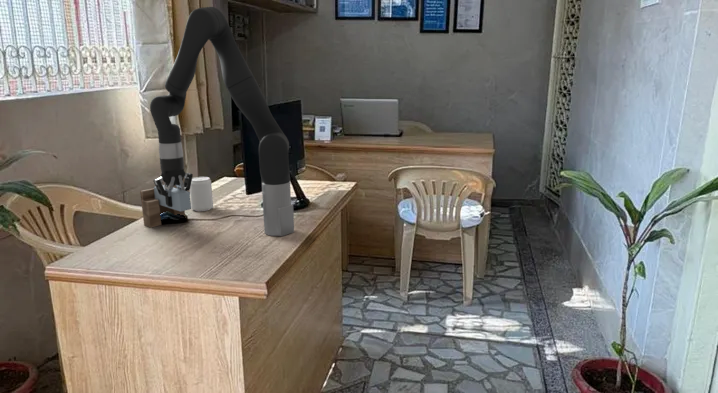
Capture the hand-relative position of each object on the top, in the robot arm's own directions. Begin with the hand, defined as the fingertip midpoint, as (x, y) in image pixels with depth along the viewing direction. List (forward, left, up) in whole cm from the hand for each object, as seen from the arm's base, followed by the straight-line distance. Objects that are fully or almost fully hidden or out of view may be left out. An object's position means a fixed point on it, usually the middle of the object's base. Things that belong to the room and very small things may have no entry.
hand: (176, 204), depth 182 cm
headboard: (+10, 0, -8) cm, 12 cm away
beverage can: (+13, -18, -8) cm, 24 cm away
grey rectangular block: (+2, 0, -1) cm, 2 cm away
